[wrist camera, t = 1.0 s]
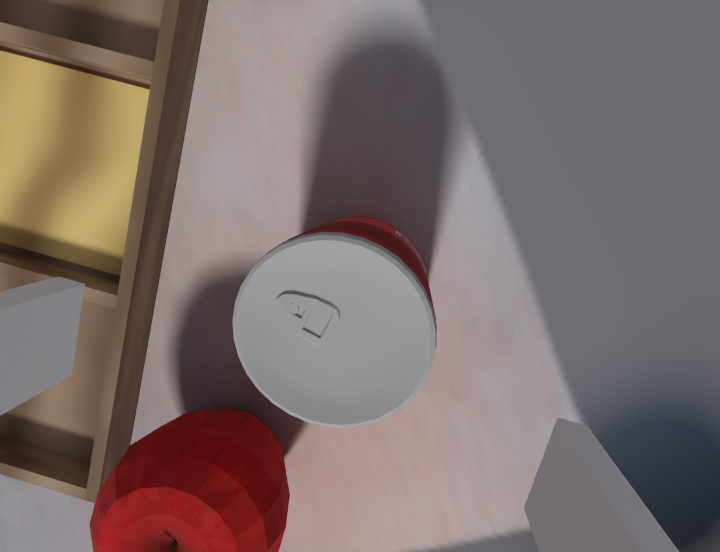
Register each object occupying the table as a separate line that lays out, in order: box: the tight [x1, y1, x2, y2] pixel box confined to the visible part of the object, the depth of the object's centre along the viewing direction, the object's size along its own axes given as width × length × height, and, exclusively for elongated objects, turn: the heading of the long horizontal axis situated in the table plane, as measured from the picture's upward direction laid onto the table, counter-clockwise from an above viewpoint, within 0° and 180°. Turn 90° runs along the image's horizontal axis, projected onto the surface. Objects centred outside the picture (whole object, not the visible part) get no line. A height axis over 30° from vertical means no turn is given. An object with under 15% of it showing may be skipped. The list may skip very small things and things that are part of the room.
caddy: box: [0, 0, 208, 503], centre depth 28 cm, size 14×39×3 cm, turn 165°
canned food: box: [232, 216, 437, 428], centre depth 24 cm, size 8×8×11 cm
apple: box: [90, 409, 290, 552], centre depth 27 cm, size 10×10×11 cm
